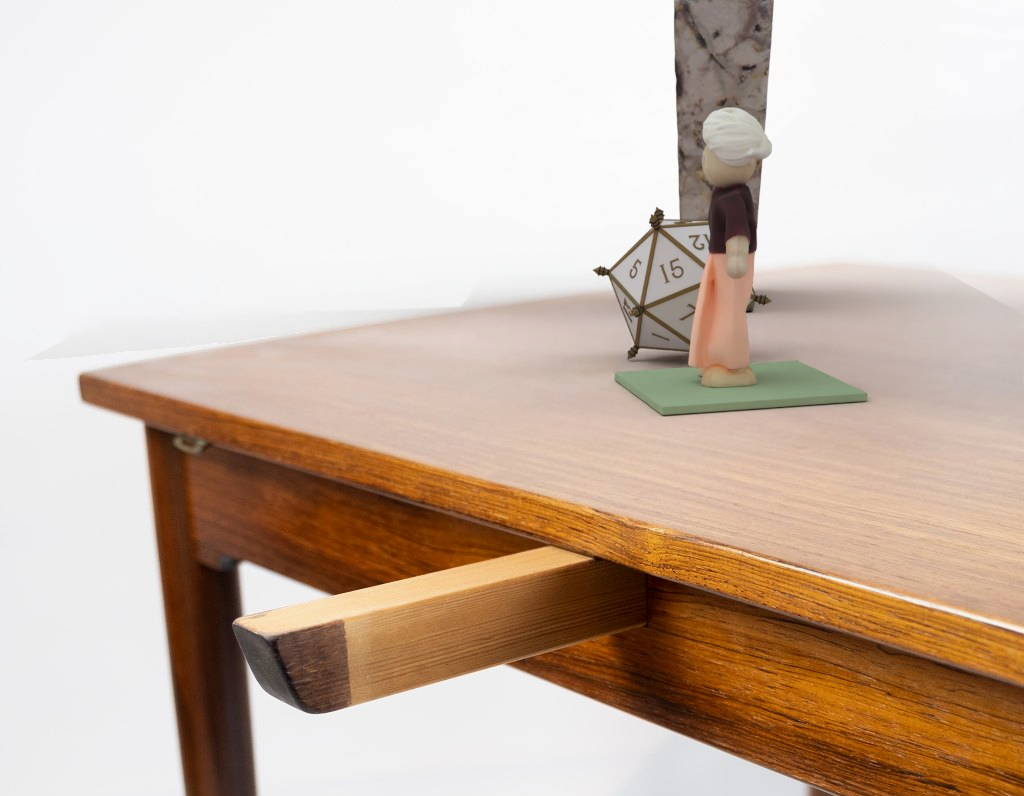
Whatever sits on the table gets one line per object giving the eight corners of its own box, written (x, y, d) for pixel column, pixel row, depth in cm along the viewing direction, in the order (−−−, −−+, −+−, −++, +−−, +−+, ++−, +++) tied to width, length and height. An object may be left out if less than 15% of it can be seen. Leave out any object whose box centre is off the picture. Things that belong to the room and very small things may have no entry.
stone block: (778, 312, 100) (788, -22, 93) (672, 315, 101) (674, -17, 93) (760, 288, 113) (768, -9, 105) (666, 291, 113) (667, -5, 105)
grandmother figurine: (674, 370, 79) (675, 108, 74) (746, 366, 79) (752, 105, 74) (704, 397, 72) (708, 109, 67) (784, 393, 72) (793, 106, 67)
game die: (653, 421, 87) (606, 269, 89) (795, 365, 85) (743, 211, 87) (613, 367, 79) (562, 201, 81) (769, 304, 77) (712, 135, 79)
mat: (797, 367, 81) (797, 359, 80) (867, 401, 71) (867, 392, 71) (614, 379, 79) (614, 372, 79) (662, 415, 70) (662, 406, 70)
